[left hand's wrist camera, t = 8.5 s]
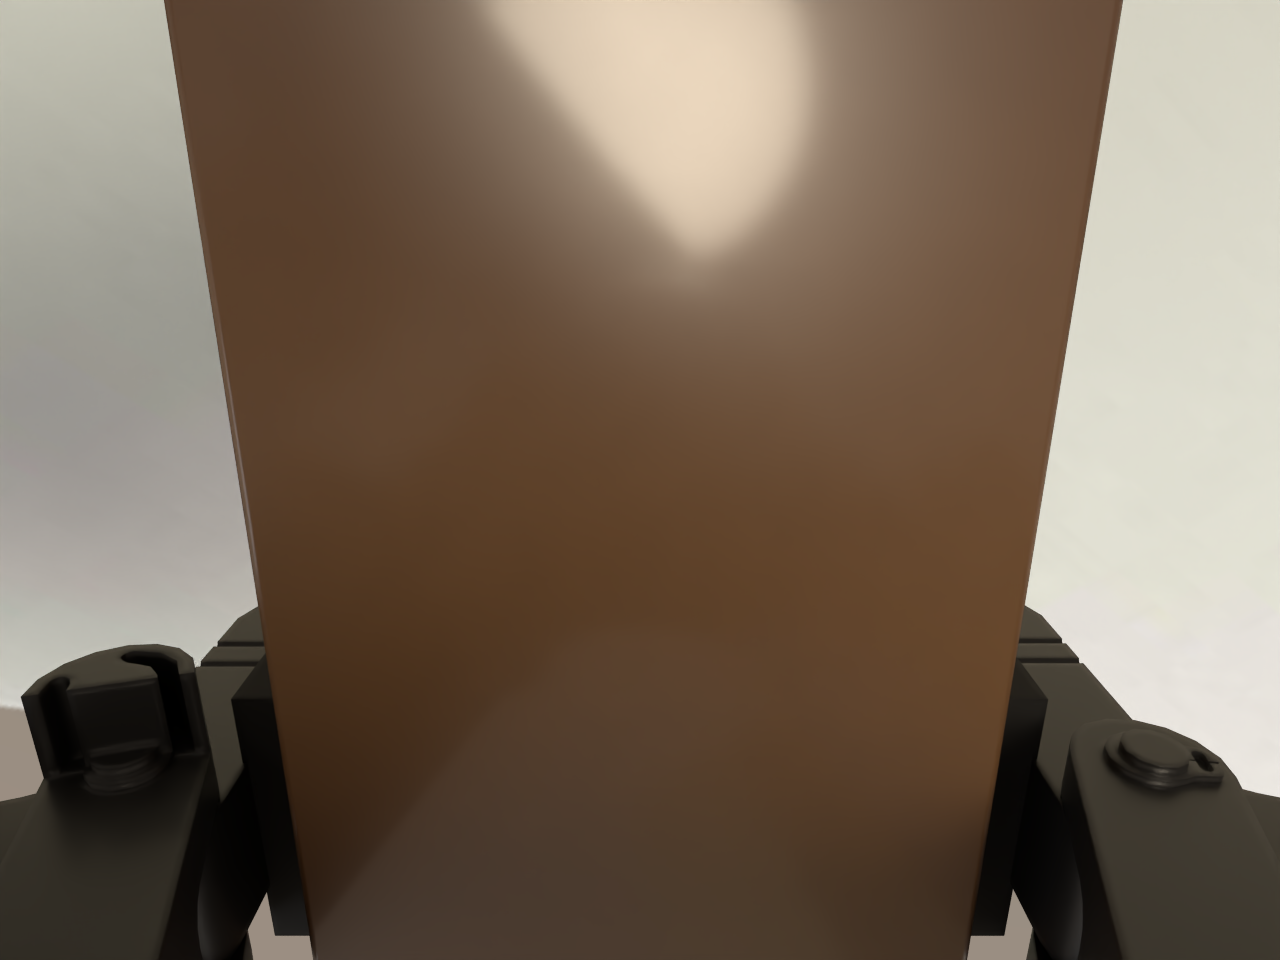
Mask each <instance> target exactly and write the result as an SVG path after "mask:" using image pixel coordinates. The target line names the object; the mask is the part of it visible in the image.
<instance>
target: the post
mask: <svg viewBox="0 0 1280 960" xmlns="http://www.w3.org/2000/svg"><path fill="white" fill-rule="evenodd" d="M164 3H165V10H166V16H167V22H168V29H169V35H170V42H171V48H172V55H173V61H174V67H175V74H176V80H177V87H178V93H179V100H180V106H181V112H182V119H183V125H184V132H185V138H186V145H187V151H188V157H189V164H190V170H191V177H192V183H193V190H194V196H195V202H196V209H197V215H198V222H199V228H200V235H201V241H202V247H203V254H204V260H205V267H206V273H207V280H208V286H209V292H210V299H211V305H212V312H213V318H214V325H215V331H216V337H217V344H218V350H219V357H220V363H221V370H222V376H223V382H224V389H225V395H226V402H227V408H228V415H229V421H230V427H231V434H232V440H233V447H234V453H235V460H236V466H237V472H238V479H239V485H240V492H241V498H242V505H243V511H244V517H245V524H246V530H247V537H248V543H249V550H250V556H251V562H252V569H253V575H254V582H255V588H256V595H257V601H258V607H259V614H260V620H261V627H262V633H263V640H264V646H265V652H266V659H267V665H268V672H269V678H270V685H271V691H272V697H273V704H274V710H275V717H276V723H277V730H278V736H279V742H280V749H281V755H282V762H283V768H284V775H285V781H286V787H287V794H288V800H289V807H290V813H291V820H292V826H293V832H294V839H295V845H296V852H297V858H298V865H299V871H300V877H301V884H302V890H303V897H304V903H305V910H306V916H307V922H308V929H309V935H310V942H311V948H312V955H313V960H967V956H968V950H969V944H970V938H971V932H972V925H973V919H974V913H975V907H976V901H977V895H978V889H979V882H980V876H981V870H982V864H983V858H984V852H985V846H986V839H987V833H988V827H989V821H990V815H991V809H992V803H993V796H994V790H995V784H996V778H997V772H998V766H999V759H1000V753H1001V747H1002V741H1003V735H1004V729H1005V723H1006V716H1007V710H1008V704H1009V698H1010V692H1011V686H1012V680H1013V673H1014V667H1015V661H1016V655H1017V649H1018V643H1019V637H1020V630H1021V624H1022V618H1023V612H1024V606H1025V600H1026V593H1027V587H1028V581H1029V575H1030V569H1031V563H1032V557H1033V550H1034V544H1035V538H1036V532H1037V526H1038V520H1039V514H1040V507H1041V501H1042V495H1043V489H1044V483H1045V477H1046V471H1047V464H1048V458H1049V452H1050V446H1051V440H1052V434H1053V428H1054V421H1055V415H1056V409H1057V403H1058V397H1059V391H1060V384H1061V378H1062V372H1063V366H1064V360H1065V354H1066V348H1067V341H1068V335H1069V329H1070V323H1071V317H1072V311H1073V305H1074V298H1075V292H1076V286H1077V280H1078V274H1079V268H1080V262H1081V255H1082V249H1083V243H1084V237H1085V231H1086V225H1087V218H1088V212H1089V206H1090V200H1091V194H1092V188H1093V182H1094V175H1095V169H1096V163H1097V157H1098V151H1099V145H1100V139H1101V132H1102V126H1103V120H1104V114H1105V108H1106V102H1107V96H1108V89H1109V83H1110V77H1111V71H1112V65H1113V59H1114V53H1115V46H1116V40H1117V34H1118V28H1119V22H1120V16H1121V9H1122V3H1123V0H164Z"/></svg>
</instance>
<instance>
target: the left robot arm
mask: <svg viewBox="0 0 1280 960" xmlns="http://www.w3.org/2000/svg"><path fill="white" fill-rule="evenodd" d="M21 699H22V703H23V706H24V710H25V713H26V717H27V720H28V724H29V727H30V731H31V734H32V738H33V741H34V745H35V749H36V752H37V755H38V759H39V763H40V766H41V770H42V773H43V777H44V779H43V781H42V783H41V785H40V787H39V789H38V791H37V793H36V794H32V795H28V796H25V797H20V798H16V799H11V800H6V801H1V802H0V960H253V956H252V949H251V944H250V939H249V934H248V928H249V926H250V924H251V922H252V920H253V918H254V916H255V914H256V912H257V910H258V908H259V906H260V904H261V902H262V900H263V898H264V896H265V894H266V892H267V895H268V900H269V906H270V911H271V916H272V922H273V927H274V933H275V936H310V935H309V929H308V922H307V916H306V910H305V903H304V897H303V890H302V884H301V877H300V871H299V865H298V858H297V852H296V845H295V839H294V832H293V826H292V820H291V813H290V807H289V800H288V794H287V787H286V781H285V775H284V768H283V762H282V755H281V749H280V742H279V736H278V730H277V723H276V717H275V710H274V704H273V697H272V691H271V685H270V678H269V672H268V665H267V659H266V652H265V646H264V640H263V633H262V627H261V620H260V614H259V607H256V608H255V609H253V610H251V611H250V612H248V613H246V614H245V615H243V616H241V617H240V618H238V619H237V620H236V621H235V622H234V624H233V625H232V626H231V627H230V628H229V629H228V631H227V632H226V633H225V634H224V635H223V636H222V638H221V639H220V640H219V641H218V646H217V647H213V648H212V649H211V650H210V651H209V653H208V654H207V655H206V656H205V657H204V658H203V660H202V661H201V666H200V667H196V668H195V665H194V660H193V658H192V657H191V656H190V655H188V654H187V653H185V652H184V651H183V650H181V649H180V648H175V647H170V646H165V645H160V644H147V645H127V646H123V647H118V648H113V649H109V650H104V651H99V652H95V653H92V654H90V655H87V656H84V657H82V658H79V659H76V660H74V661H71V662H68V663H66V664H63V665H62V666H60V667H58V668H57V669H55V670H53V671H51V672H50V673H48V674H46V675H45V676H43V677H41V678H40V679H38V680H37V681H36V682H35V683H34V684H33V685H32V686H31V687H30V688H29V689H28V690H27V691H26V692H25V693H24V694H23V695H22V696H21ZM1013 889H1014V891H1015V893H1016V895H1017V897H1018V899H1019V901H1020V903H1021V905H1022V907H1023V909H1024V911H1025V913H1026V915H1027V917H1028V919H1029V921H1030V923H1031V925H1032V927H1033V929H1032V934H1031V939H1030V944H1029V949H1028V954H1027V959H1026V960H1280V798H1279V797H1274V796H1269V795H1264V794H1259V793H1255V792H1251V791H1248V790H1244V789H1242V787H1241V785H1240V784H1239V782H1238V780H1237V778H1236V776H1235V775H1234V774H1233V773H1232V771H1231V770H1230V769H1229V768H1228V766H1227V765H1226V764H1225V763H1224V762H1223V760H1222V759H1221V758H1220V757H1218V756H1217V755H1215V754H1214V753H1212V752H1211V751H1210V750H1208V749H1207V748H1205V747H1204V746H1202V745H1201V744H1199V743H1198V742H1197V741H1195V740H1192V739H1190V738H1188V737H1186V736H1183V735H1181V734H1179V733H1176V732H1174V731H1172V730H1170V729H1167V728H1164V727H1160V726H1156V725H1152V724H1148V723H1144V722H1140V721H1136V720H1132V719H1131V718H1130V717H1129V715H1128V714H1127V713H1126V712H1125V711H1124V710H1123V708H1122V707H1121V706H1120V705H1119V704H1118V703H1117V702H1116V700H1115V699H1114V698H1113V697H1112V696H1111V695H1110V694H1109V692H1108V691H1107V690H1106V689H1105V688H1104V687H1103V685H1102V684H1101V683H1100V682H1099V681H1098V680H1097V679H1096V677H1095V676H1094V675H1093V674H1092V673H1091V672H1090V670H1089V669H1088V668H1087V667H1086V666H1085V665H1084V664H1083V663H1079V658H1078V657H1077V656H1076V654H1075V653H1074V652H1073V651H1072V650H1071V649H1070V647H1069V646H1068V645H1067V644H1066V643H1062V638H1061V637H1060V636H1059V635H1058V634H1057V632H1056V631H1055V630H1054V629H1053V628H1052V627H1051V626H1050V624H1049V623H1048V622H1047V621H1046V620H1045V619H1044V618H1043V616H1042V615H1040V614H1038V613H1037V612H1035V611H1033V610H1032V609H1030V608H1028V607H1027V606H1024V612H1023V618H1022V624H1021V630H1020V637H1019V643H1018V649H1017V655H1016V661H1015V667H1014V673H1013V680H1012V686H1011V692H1010V698H1009V704H1008V710H1007V716H1006V723H1005V729H1004V735H1003V741H1002V747H1001V753H1000V759H999V766H998V772H997V778H996V784H995V790H994V796H993V803H992V809H991V815H990V821H989V827H988V833H987V839H986V846H985V852H984V858H983V864H982V870H981V876H980V882H979V889H978V895H977V901H976V907H975V913H974V919H973V925H972V932H971V936H1004V934H1005V928H1006V923H1007V918H1008V912H1009V907H1010V902H1011V896H1012V891H1013Z"/></svg>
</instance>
